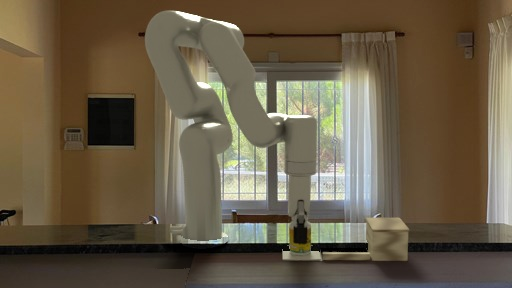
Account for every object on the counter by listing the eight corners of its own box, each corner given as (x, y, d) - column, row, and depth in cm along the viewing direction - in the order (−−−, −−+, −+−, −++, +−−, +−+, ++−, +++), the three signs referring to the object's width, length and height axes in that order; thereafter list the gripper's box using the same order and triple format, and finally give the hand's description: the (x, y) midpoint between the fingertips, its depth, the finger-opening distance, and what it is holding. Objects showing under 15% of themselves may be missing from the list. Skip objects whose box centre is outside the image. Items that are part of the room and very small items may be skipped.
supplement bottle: (301, 246, 122) (301, 209, 121) (315, 253, 117) (315, 214, 116) (284, 251, 119) (284, 213, 118) (298, 257, 115) (298, 218, 113)
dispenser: (319, 261, 113) (319, 229, 112) (315, 246, 123) (315, 217, 122) (408, 261, 112) (409, 229, 111) (398, 246, 122) (399, 217, 121)
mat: (282, 260, 114) (282, 259, 114) (282, 246, 123) (282, 245, 123) (321, 260, 114) (321, 259, 114) (318, 246, 122) (318, 245, 122)
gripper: (284, 160, 124) (283, 224, 126) (284, 174, 107) (284, 248, 109) (313, 160, 124) (312, 225, 126) (319, 175, 107) (317, 249, 109)
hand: (299, 236), depth 118 cm, fingers open, 9 cm apart
